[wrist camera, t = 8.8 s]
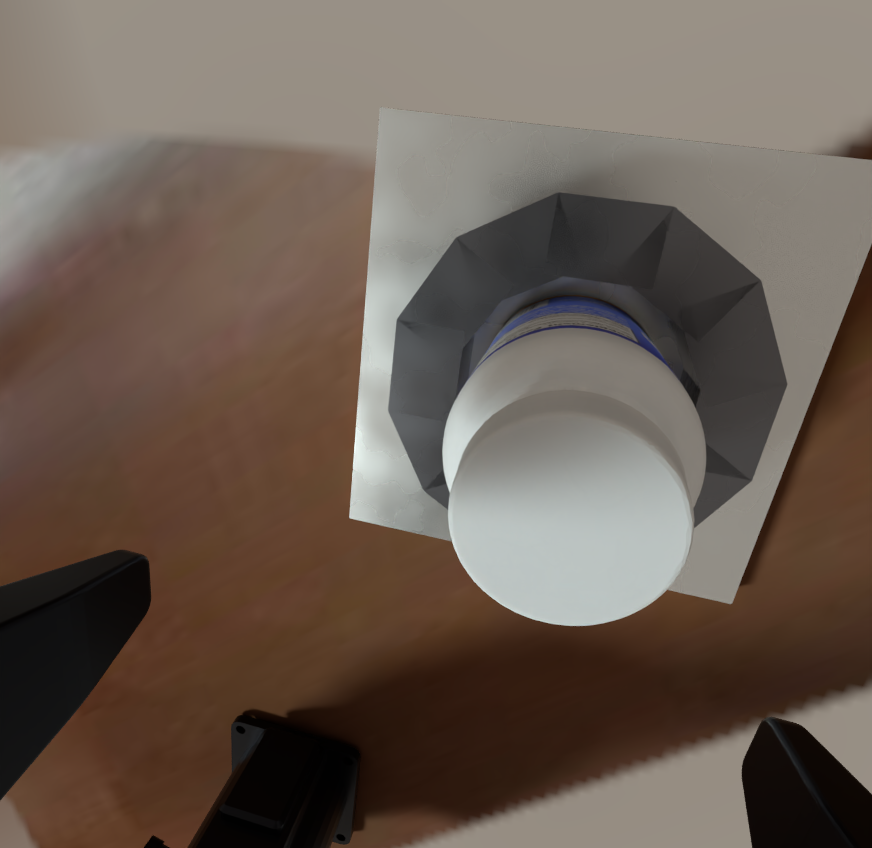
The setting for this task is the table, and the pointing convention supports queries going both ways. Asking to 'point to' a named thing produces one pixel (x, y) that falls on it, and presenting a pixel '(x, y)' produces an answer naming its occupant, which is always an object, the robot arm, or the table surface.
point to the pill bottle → (573, 465)
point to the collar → (604, 295)
